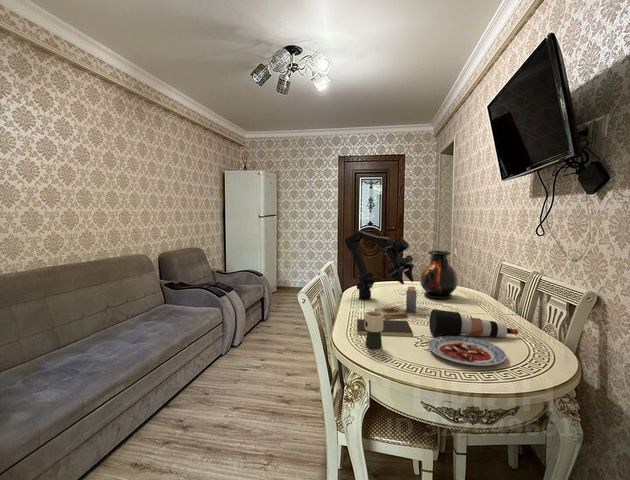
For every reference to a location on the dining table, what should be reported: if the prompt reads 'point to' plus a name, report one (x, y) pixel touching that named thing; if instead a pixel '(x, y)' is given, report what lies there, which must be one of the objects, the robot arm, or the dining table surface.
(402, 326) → the hardcover book
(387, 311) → the brown square frame
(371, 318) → the character mug
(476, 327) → the black white tapered cylinder
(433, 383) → the dining table surface
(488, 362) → the ceramic plate
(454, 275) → the dark orange vase
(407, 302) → the grey and tan cylinder
